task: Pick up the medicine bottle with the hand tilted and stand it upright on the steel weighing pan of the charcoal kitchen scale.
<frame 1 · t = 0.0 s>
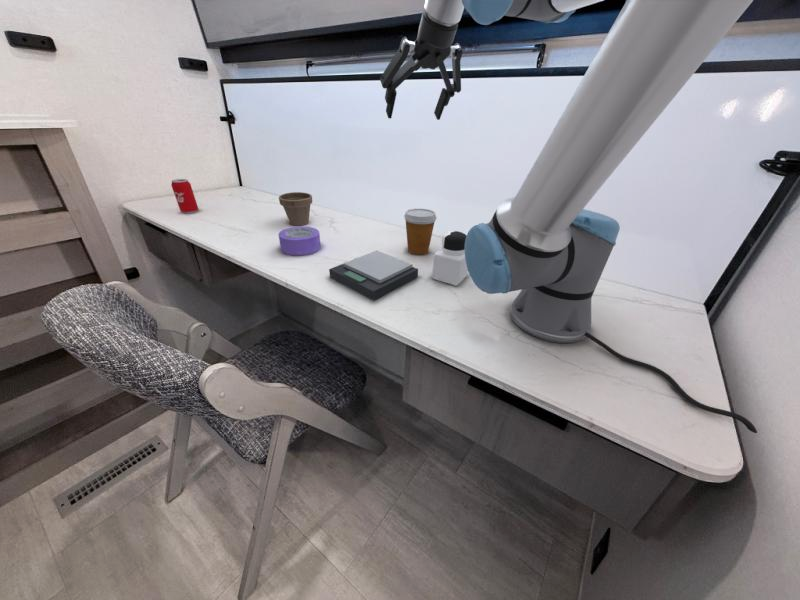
hand: (413, 115, 79), 36 cm above the table, tool tilted 35°, fingers open, 13 cm apart
scale: (374, 277, 79), on the table
flower pot: (299, 223, 114), on the table
medicine bottle: (449, 278, 80), on the table
tape roll: (301, 248, 94), on the table
beverage can: (190, 212, 122), on the table
disposable coffee cup: (418, 251, 95), on the table
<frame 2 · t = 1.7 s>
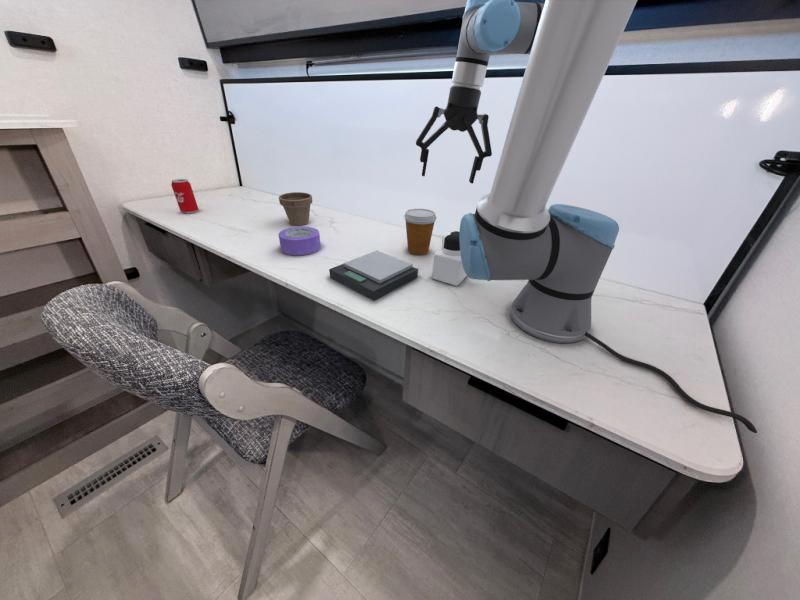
hand: (447, 178, 85), 21 cm above the table, tool pointing down, fingers open, 13 cm apart
nothing on the table moved.
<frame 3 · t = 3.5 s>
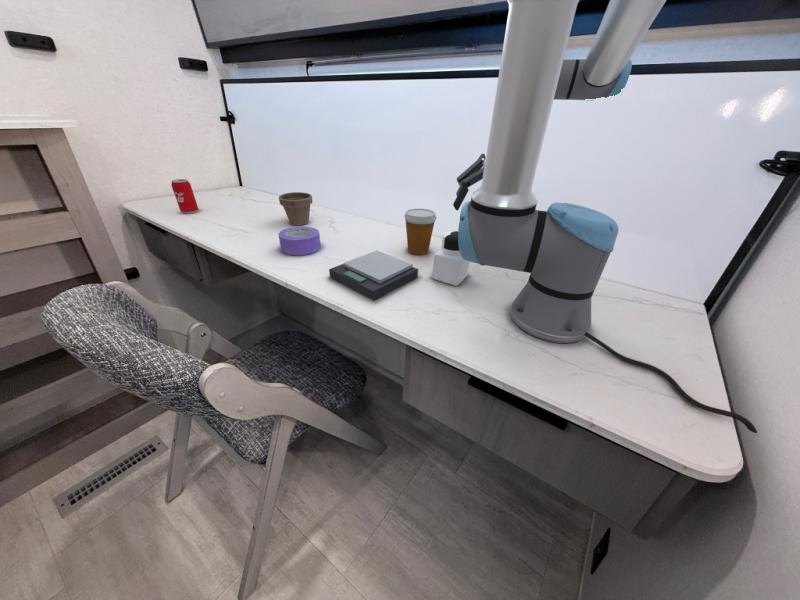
hand: (477, 213, 79), 15 cm above the table, tool tilted 45°, fingers open, 13 cm apart
nothing on the table moved.
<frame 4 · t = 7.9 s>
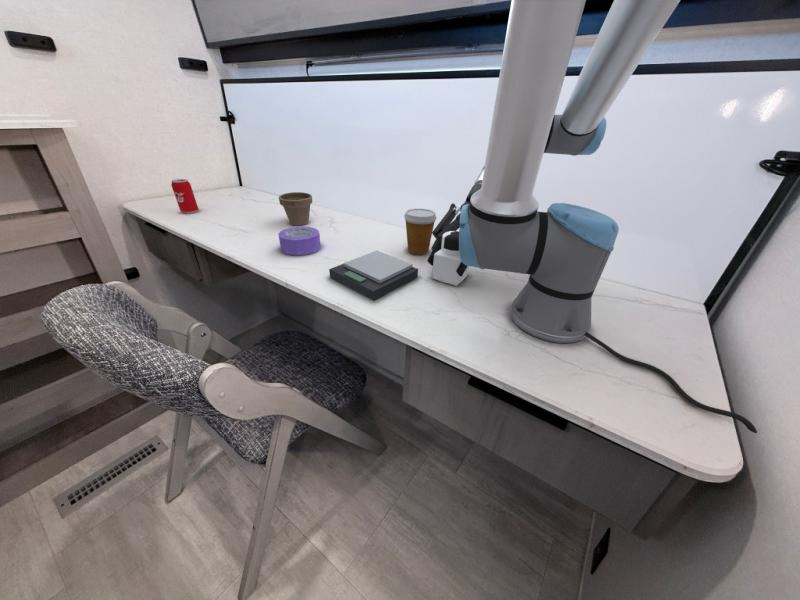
hand: (444, 268, 76), 4 cm above the table, tool tilted 45°, fingers closed on medicine bottle, 8 cm apart
medicine bottle: (449, 278, 80), on the table, touching gripper
everything else where it was.
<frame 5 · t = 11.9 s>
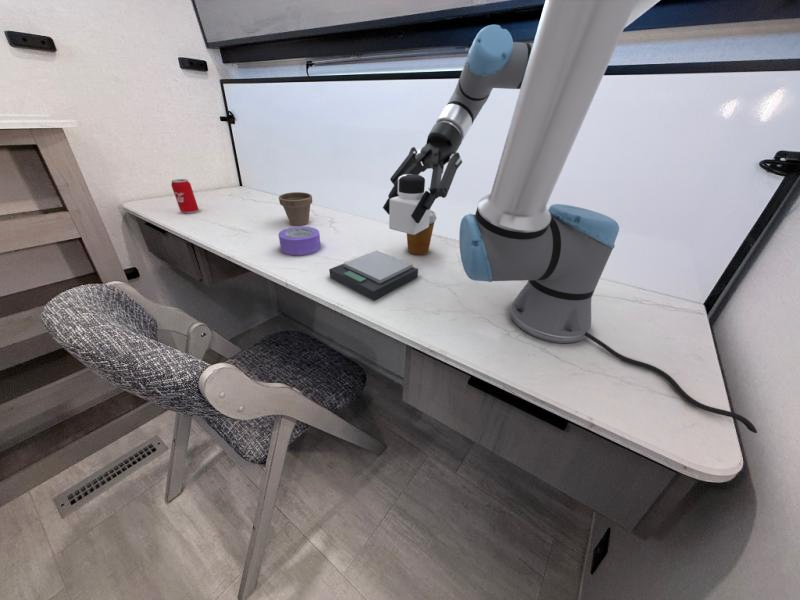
hand: (400, 215, 69), 17 cm above the table, tool tilted 45°, fingers closed on medicine bottle, 8 cm apart
medicine bottle: (409, 229, 73), point 13 cm above the table, touching gripper
everything else where it was.
when the fingers open (7 cm above the table, at t = 15.9 s): medicine bottle stays where it is, resting on scale.
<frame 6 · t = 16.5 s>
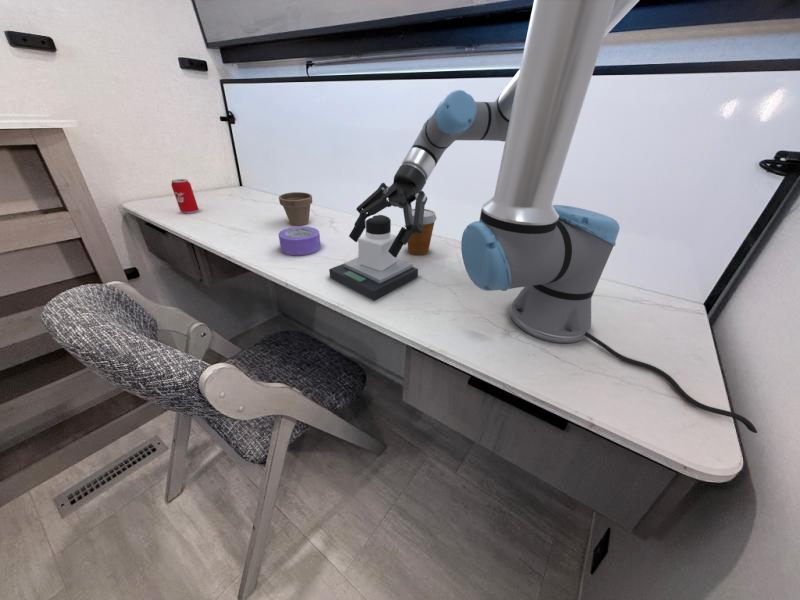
hand: (371, 246, 73), 9 cm above the table, tool tilted 45°, fingers open, 13 cm apart
medicine bottle: (378, 264, 78), point 3 cm above the table, touching scale
everything else where it was.
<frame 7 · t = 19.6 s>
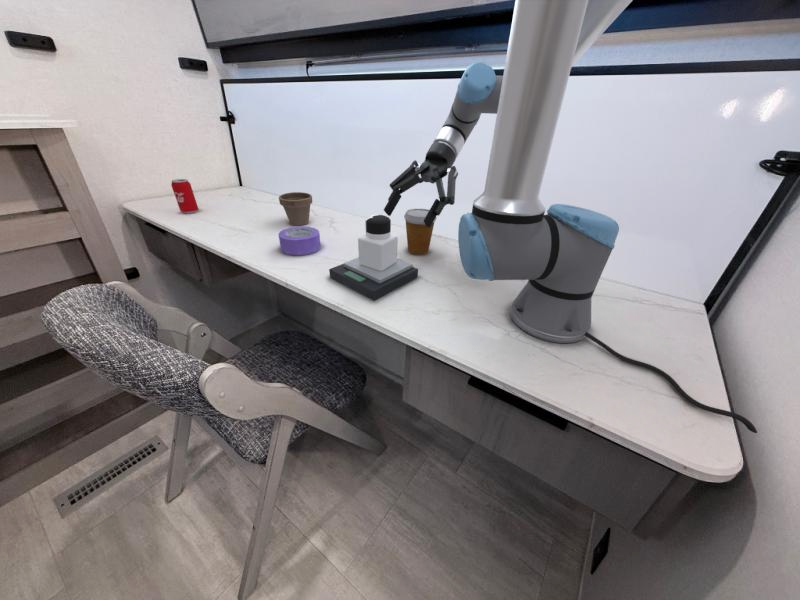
hand: (405, 218, 79), 13 cm above the table, tool tilted 45°, fingers open, 13 cm apart
nothing on the table moved.
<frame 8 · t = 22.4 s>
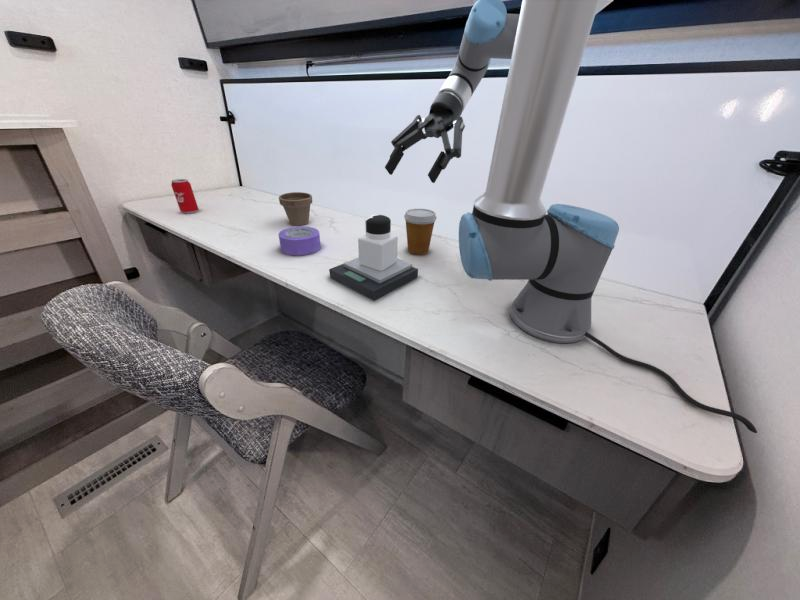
hand: (408, 175, 74), 24 cm above the table, tool tilted 45°, fingers open, 13 cm apart
nothing on the table moved.
at the end: medicine bottle inside the target area on the scale (0.1 cm from its centre), point 3.3 cm above the scale's base; medicine bottle tilted 0°; the gripper is holding nothing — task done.
